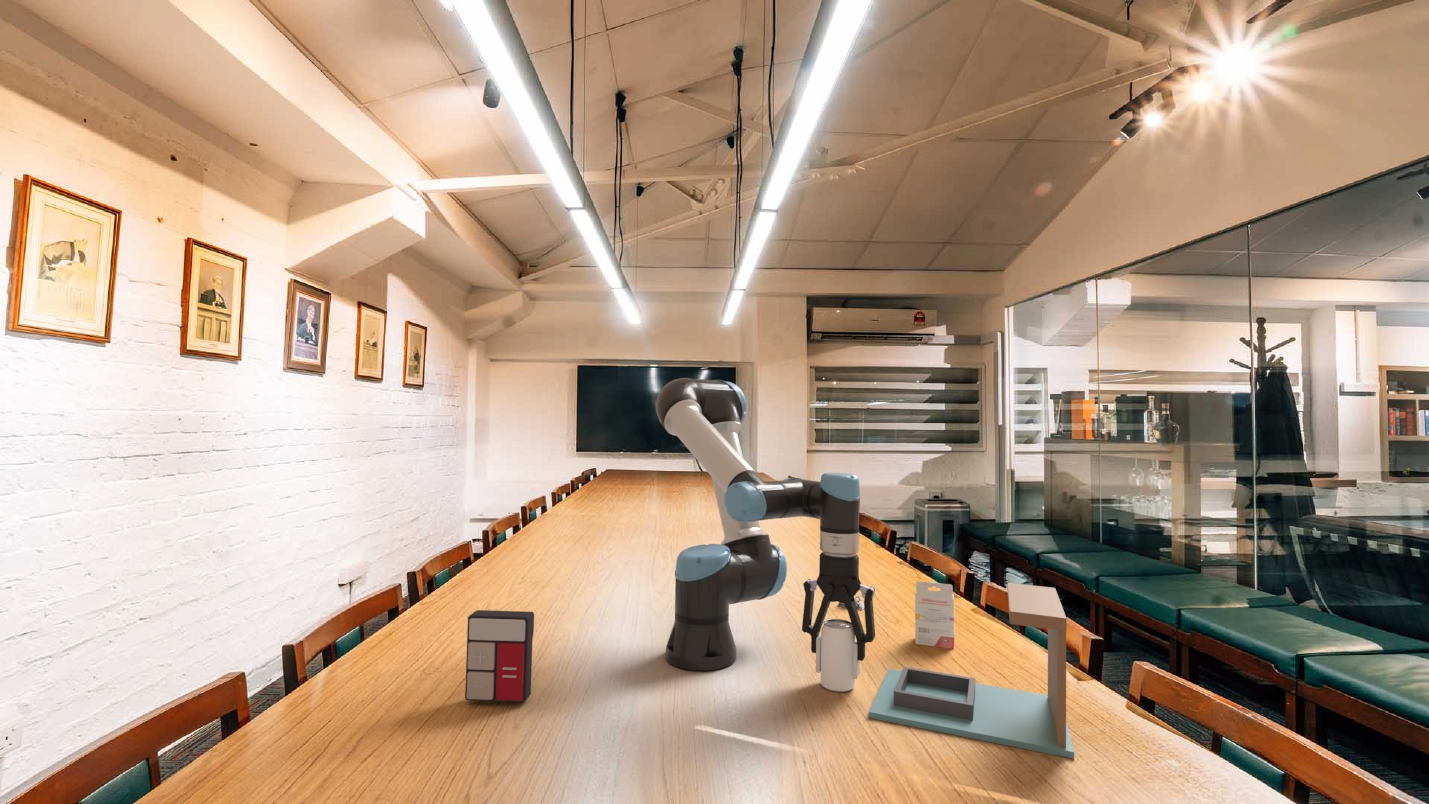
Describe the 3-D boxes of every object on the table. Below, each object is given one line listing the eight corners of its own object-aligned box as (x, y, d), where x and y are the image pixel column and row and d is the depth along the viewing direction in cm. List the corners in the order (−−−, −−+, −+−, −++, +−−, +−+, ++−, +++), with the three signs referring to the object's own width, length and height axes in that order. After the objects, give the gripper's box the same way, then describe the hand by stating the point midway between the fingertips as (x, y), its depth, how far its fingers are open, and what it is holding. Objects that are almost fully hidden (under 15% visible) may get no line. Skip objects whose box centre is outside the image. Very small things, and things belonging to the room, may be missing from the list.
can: (854, 694, 120) (855, 629, 120) (819, 691, 121) (820, 627, 122) (854, 681, 126) (855, 619, 127) (821, 678, 128) (821, 617, 128)
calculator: (462, 702, 113) (465, 616, 114) (472, 692, 118) (475, 609, 118) (524, 704, 113) (526, 618, 114) (532, 694, 117) (534, 611, 118)
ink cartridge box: (954, 644, 150) (955, 580, 150) (954, 650, 145) (954, 585, 145) (916, 638, 153) (916, 576, 153) (914, 645, 148) (915, 581, 149)
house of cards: (877, 608, 179) (878, 580, 179) (867, 615, 172) (868, 586, 172) (847, 603, 184) (847, 576, 184) (835, 610, 176) (836, 582, 177)
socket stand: (869, 717, 111) (870, 594, 111) (888, 673, 131) (889, 569, 131) (1074, 758, 98) (1074, 620, 99) (1060, 702, 118) (1060, 588, 119)
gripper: (785, 551, 125) (783, 671, 124) (887, 561, 117) (885, 689, 117) (796, 545, 132) (794, 658, 131) (893, 554, 124) (891, 675, 123)
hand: (837, 673), depth 124 cm, fingers closed on can, 6 cm apart
